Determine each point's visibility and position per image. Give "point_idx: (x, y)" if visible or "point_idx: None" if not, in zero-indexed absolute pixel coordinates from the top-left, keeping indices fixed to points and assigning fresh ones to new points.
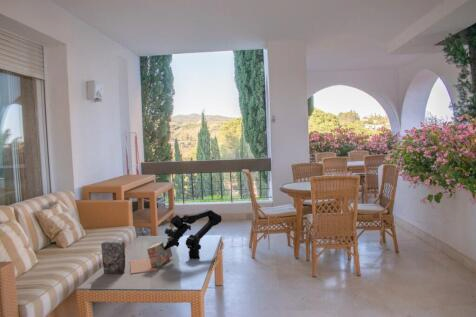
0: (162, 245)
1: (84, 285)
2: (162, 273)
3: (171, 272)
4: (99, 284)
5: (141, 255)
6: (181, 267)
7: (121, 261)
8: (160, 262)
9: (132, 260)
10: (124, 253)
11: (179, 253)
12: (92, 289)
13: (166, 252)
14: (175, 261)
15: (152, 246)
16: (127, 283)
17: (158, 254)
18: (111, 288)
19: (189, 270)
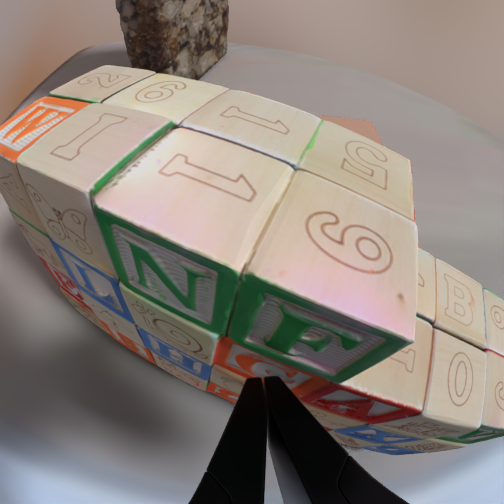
0: (277, 338)
1: (107, 43)
2: (10, 317)
3: (4, 382)
4: (81, 68)
5: (475, 195)
6: (78, 489)
7: (125, 38)
8: (81, 309)
9: (372, 131)
10: (147, 3)
11: (479, 471)
12: (57, 68)
13: (316, 415)
14: (276, 484)
15: (143, 94)
16: None
17: (43, 255)
18: (19, 108)
19: (16, 498)
